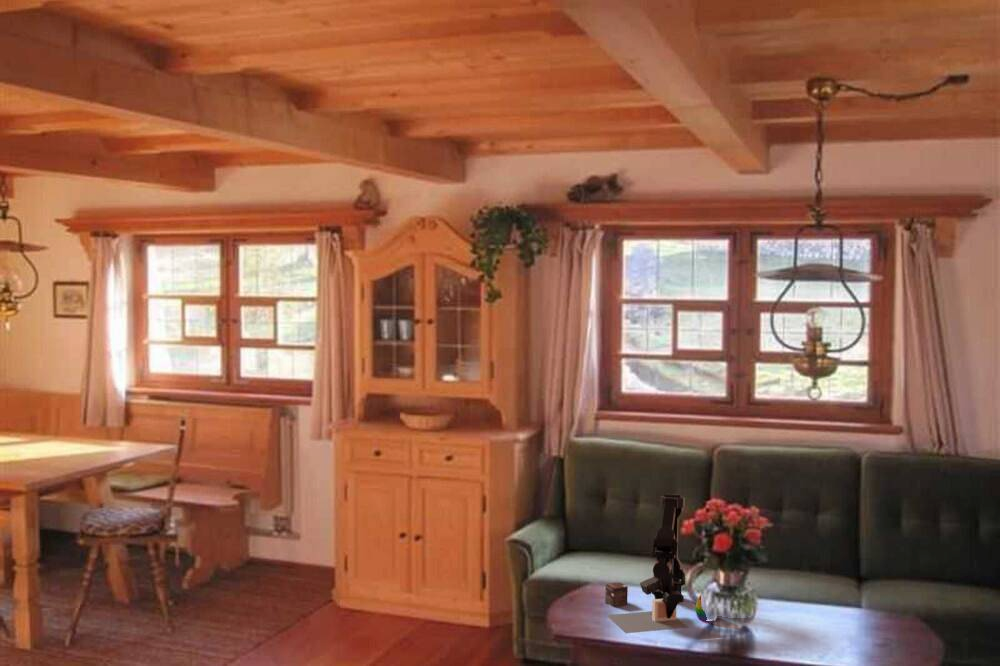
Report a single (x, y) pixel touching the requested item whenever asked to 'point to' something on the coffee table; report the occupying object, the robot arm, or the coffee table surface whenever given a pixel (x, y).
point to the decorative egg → (700, 610)
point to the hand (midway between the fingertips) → (664, 614)
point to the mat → (643, 622)
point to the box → (616, 594)
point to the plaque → (660, 611)
